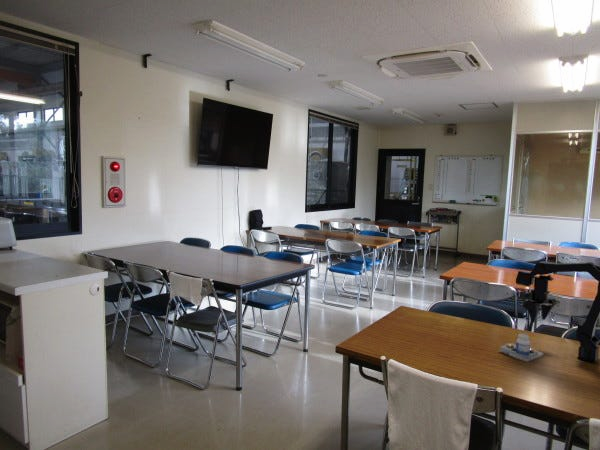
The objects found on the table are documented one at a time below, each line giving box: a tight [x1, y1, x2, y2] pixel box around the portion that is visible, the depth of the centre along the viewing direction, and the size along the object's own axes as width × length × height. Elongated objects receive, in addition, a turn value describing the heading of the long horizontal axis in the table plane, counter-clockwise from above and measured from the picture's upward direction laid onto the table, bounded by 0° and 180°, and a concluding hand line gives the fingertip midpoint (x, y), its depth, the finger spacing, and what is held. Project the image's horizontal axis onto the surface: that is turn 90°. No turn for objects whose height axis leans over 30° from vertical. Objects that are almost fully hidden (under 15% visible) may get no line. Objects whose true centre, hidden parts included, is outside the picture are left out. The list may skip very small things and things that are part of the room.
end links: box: [499, 342, 544, 362], centre depth 190 cm, size 12×13×3 cm
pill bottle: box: [515, 333, 531, 355], centre depth 187 cm, size 6×5×10 cm
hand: (538, 320), depth 198 cm, fingers open, 9 cm apart
